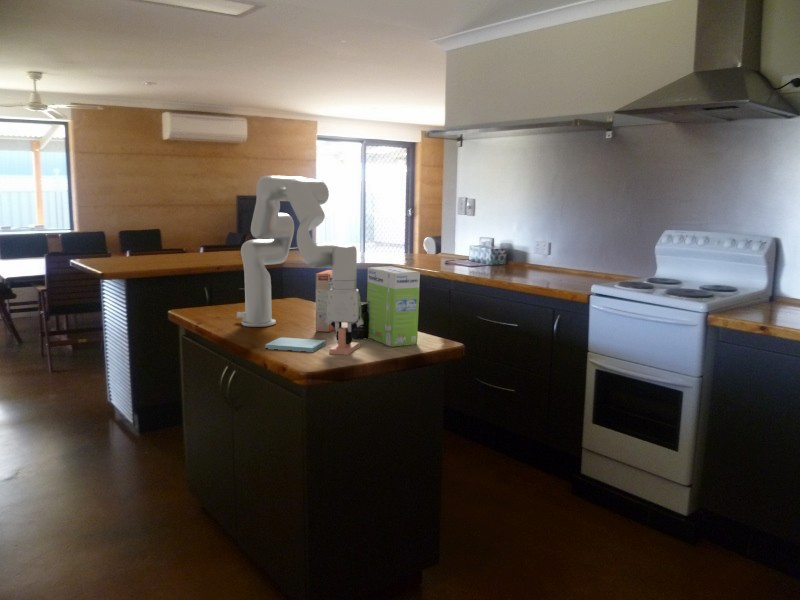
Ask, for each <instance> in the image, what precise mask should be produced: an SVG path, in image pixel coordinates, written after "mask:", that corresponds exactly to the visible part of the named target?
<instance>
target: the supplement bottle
mask: <svg viewBox="0 0 800 600" xmlns="http://www.w3.org/2000/svg"><path fill="white" fill-rule="evenodd" d="M367 309H368V307H367V301H366V302H365V301H361V316H362V319H363V321H364V324H362V325H360V326H357V327H356V328H355V329H354V330H353V339H354V340H366V339H370V338H369V337H368V334H369V313H368V311H367ZM356 322H358V321H356ZM356 322H354V323H356Z"/></svg>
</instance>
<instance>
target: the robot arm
mask: <svg viewBox="0 0 800 600" xmlns="http://www.w3.org/2000/svg"><path fill="white" fill-rule="evenodd" d="M255 188H256V189H255V190H256V191H255V194H256V201H255V205H254V210H253V213H252V220H251V225H250V233H251V235H252V237H253V238H255V239H249V240H246V241H244V242H243V243H242V245H241V248H240V255H241V260H242V265H243V275H244V300H245V301H244V306H245V307H244V309H245V311H237V312H236V318H237V319H242V321H241V325H242V326H243V327H251V328H260V327H261V328H262V327H270V326H274V325H275V324H277V321H276V319H274V318H272V315H273V313H272V279H271V274H270V272H269V271H268V270H267V269H268V268H266V265H269V266H270V265H278V264H279V265H280V264H283V263H284V262H285V261H286V260H287V259H288V256H289V253H290V249H291V244H292V241H293V238H294V233H295V222H294V219H293V217H292V216H291V215H290V214H288V213H286V212H280V210H281V203H280V202H289V203H290V206H291V207H292V210H293V212H294V215H295V216H296V219H297V220H298V222H299V226H298V227H297V228H298V229H297V231H296V246H297V249H298V252H299V254H300V255H301V258H302V259H303V262H305V264H306V265H307V266H308V267H311V268H315V269H316V268H331V270H332V280H331V281H328V285H331V286H332V289H330V290H329V295H328V303H327V318H326V320H325V322H326V323H328V324H331V325H332V326H333V327H334V328H335V329H334V330H335V332H336V341H337V342H338V329H339V328H340V327H342V326H343V325H342V324H343V323H345V324H346V323H347V324H346V325H348V330H347V332H346V344H347V345H348V344H350V343H351V342H353V330H354V329H355V328H356V327H357V326H360V325H362V324H364V321H363V319H362V316H361V302H362V301H361V295H360V291H359V289H358V287H357V285H358V284H357V283H358V282H357V279H358V278H357V277H358V276H357V275H358V274H357V273H358V272H357V260H358V259H357V247H356V246H354V245H353V244H343V243H342V242H341V243H340V242H317V243H315V242H314V241H313V238H312V237H311V234H310V231H312V230H314V229H316V228H317V227H319V226H320V225H321V224H322V223H323V222H324V219H325V217H326V215H325V211H324V210H323V208H322V206H321V205H324V204H326V203H327V201H328V199H329V195H330V194H329V193H330V191H329V187H328V186H327V184H326V183H325V182H324V181H323V180H321V179H317V178H312V177H311V178H310V177H305V176H287V175H264V176H261V177H260V178H259V179H258V181H257V183H256V187H255ZM356 321H358V322H356ZM354 322H356V323H354Z"/></svg>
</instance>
